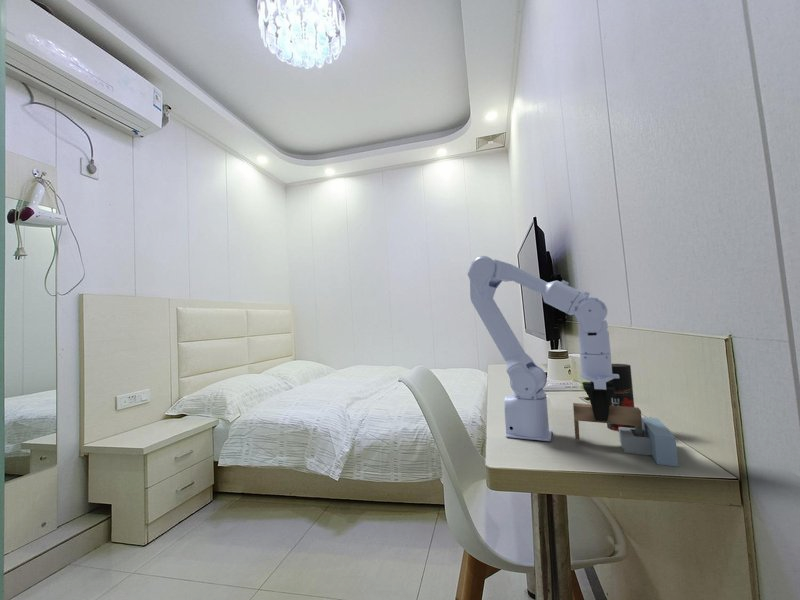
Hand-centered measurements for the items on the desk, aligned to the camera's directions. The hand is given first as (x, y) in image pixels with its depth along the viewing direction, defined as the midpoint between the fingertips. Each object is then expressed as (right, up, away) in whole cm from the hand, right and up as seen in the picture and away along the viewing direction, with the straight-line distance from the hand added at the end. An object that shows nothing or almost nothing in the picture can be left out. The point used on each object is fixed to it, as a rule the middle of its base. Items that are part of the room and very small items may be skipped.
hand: (600, 418), depth 72 cm
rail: (+1, -4, -1) cm, 5 cm away
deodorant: (+11, -6, +10) cm, 16 cm away
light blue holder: (+6, -5, -5) cm, 9 cm away
